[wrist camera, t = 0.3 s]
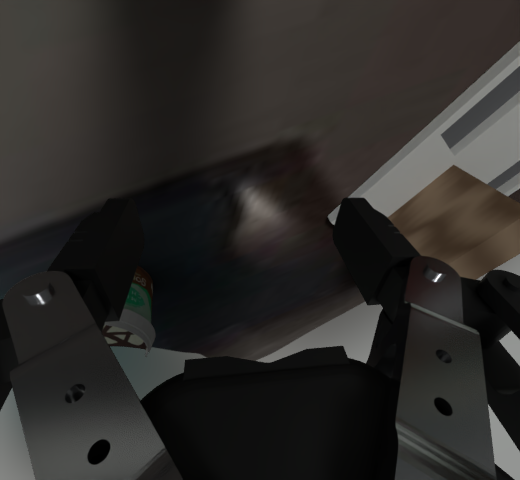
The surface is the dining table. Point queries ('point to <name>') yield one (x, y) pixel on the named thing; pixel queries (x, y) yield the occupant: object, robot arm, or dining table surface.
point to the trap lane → (458, 142)
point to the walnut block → (461, 223)
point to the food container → (134, 316)
